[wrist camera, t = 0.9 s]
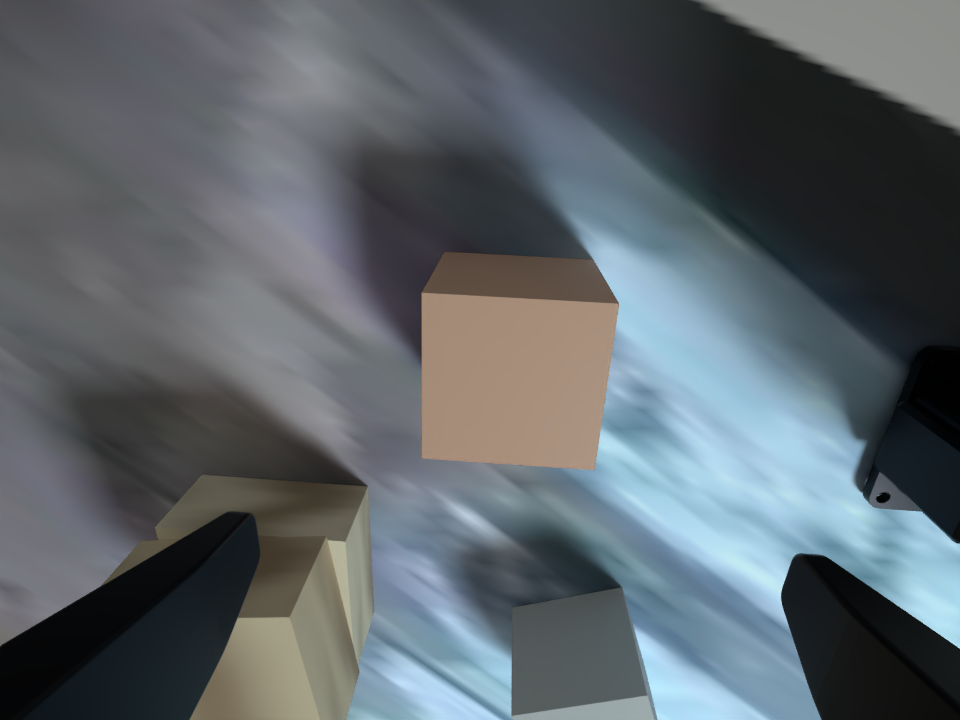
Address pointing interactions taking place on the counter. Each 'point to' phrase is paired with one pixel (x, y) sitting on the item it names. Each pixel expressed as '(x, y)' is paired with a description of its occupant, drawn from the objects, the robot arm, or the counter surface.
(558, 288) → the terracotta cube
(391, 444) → the counter surface
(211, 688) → the beige squat block
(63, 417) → the counter surface
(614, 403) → the counter surface
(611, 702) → the grey block
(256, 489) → the olive tan squat block
